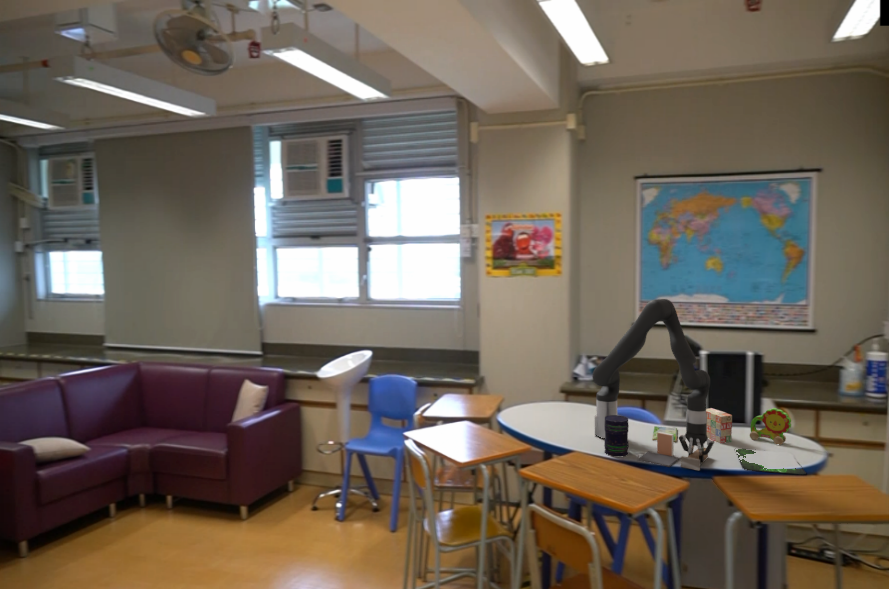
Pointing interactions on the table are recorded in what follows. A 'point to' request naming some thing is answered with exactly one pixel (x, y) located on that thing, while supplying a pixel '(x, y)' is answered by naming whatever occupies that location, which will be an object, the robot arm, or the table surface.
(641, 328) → the robot arm
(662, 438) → the tile
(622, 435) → the storage jar
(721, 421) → the stack of blocks
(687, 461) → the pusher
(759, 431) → the toy lion
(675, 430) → the green number board
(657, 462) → the mat
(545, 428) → the table surface
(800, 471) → the mouse mat
